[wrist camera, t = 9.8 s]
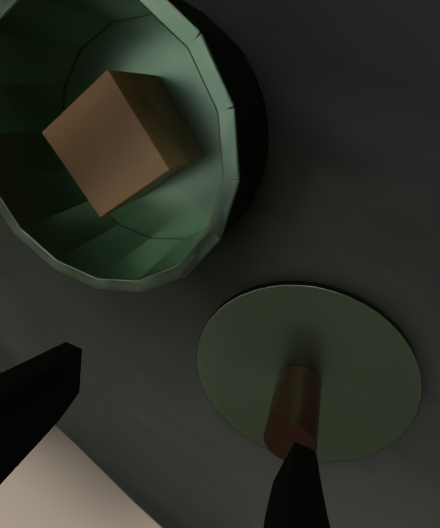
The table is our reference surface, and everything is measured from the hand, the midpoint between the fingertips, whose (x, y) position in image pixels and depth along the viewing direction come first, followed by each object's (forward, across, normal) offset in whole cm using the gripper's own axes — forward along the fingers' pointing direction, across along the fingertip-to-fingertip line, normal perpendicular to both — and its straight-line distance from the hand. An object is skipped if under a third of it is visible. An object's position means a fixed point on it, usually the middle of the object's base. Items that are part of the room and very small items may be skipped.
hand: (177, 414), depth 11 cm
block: (+9, +6, -6) cm, 12 cm away
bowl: (+9, +6, -6) cm, 13 cm away
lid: (+9, -4, +4) cm, 11 cm away
